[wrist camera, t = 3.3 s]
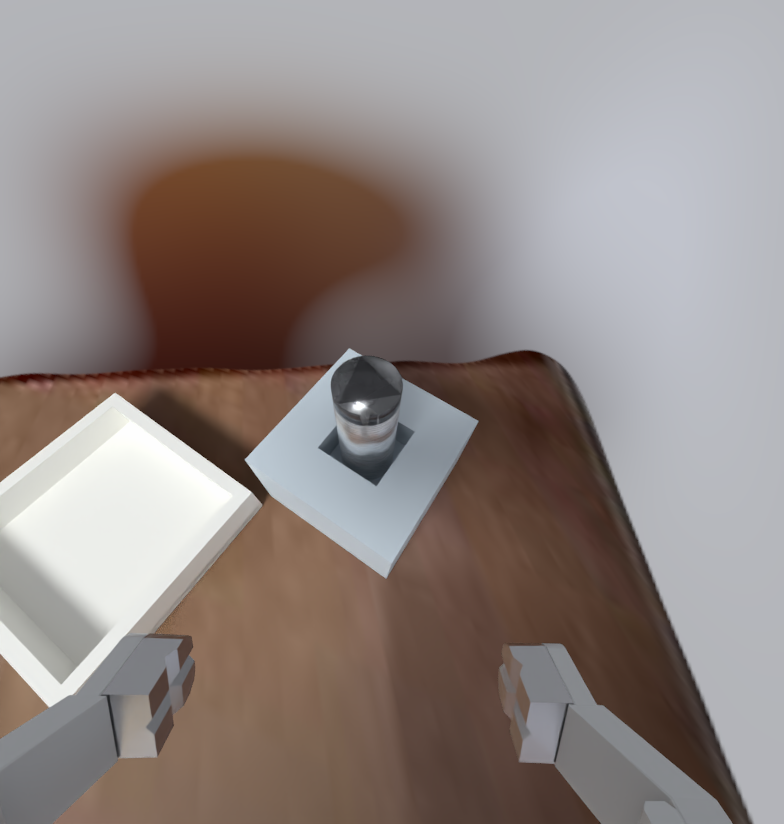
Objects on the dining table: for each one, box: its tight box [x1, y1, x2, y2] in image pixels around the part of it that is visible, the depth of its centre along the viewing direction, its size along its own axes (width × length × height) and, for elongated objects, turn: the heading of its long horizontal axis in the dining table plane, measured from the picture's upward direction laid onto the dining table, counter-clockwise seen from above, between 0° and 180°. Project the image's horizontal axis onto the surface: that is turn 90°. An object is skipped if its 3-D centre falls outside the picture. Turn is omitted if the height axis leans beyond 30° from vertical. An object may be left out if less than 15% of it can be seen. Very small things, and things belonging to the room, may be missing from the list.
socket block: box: [245, 349, 479, 578], centre depth 30 cm, size 12×12×8 cm
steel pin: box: [331, 356, 403, 481], centre depth 25 cm, size 4×4×10 cm
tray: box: [0, 393, 263, 707], centre depth 29 cm, size 16×16×4 cm
